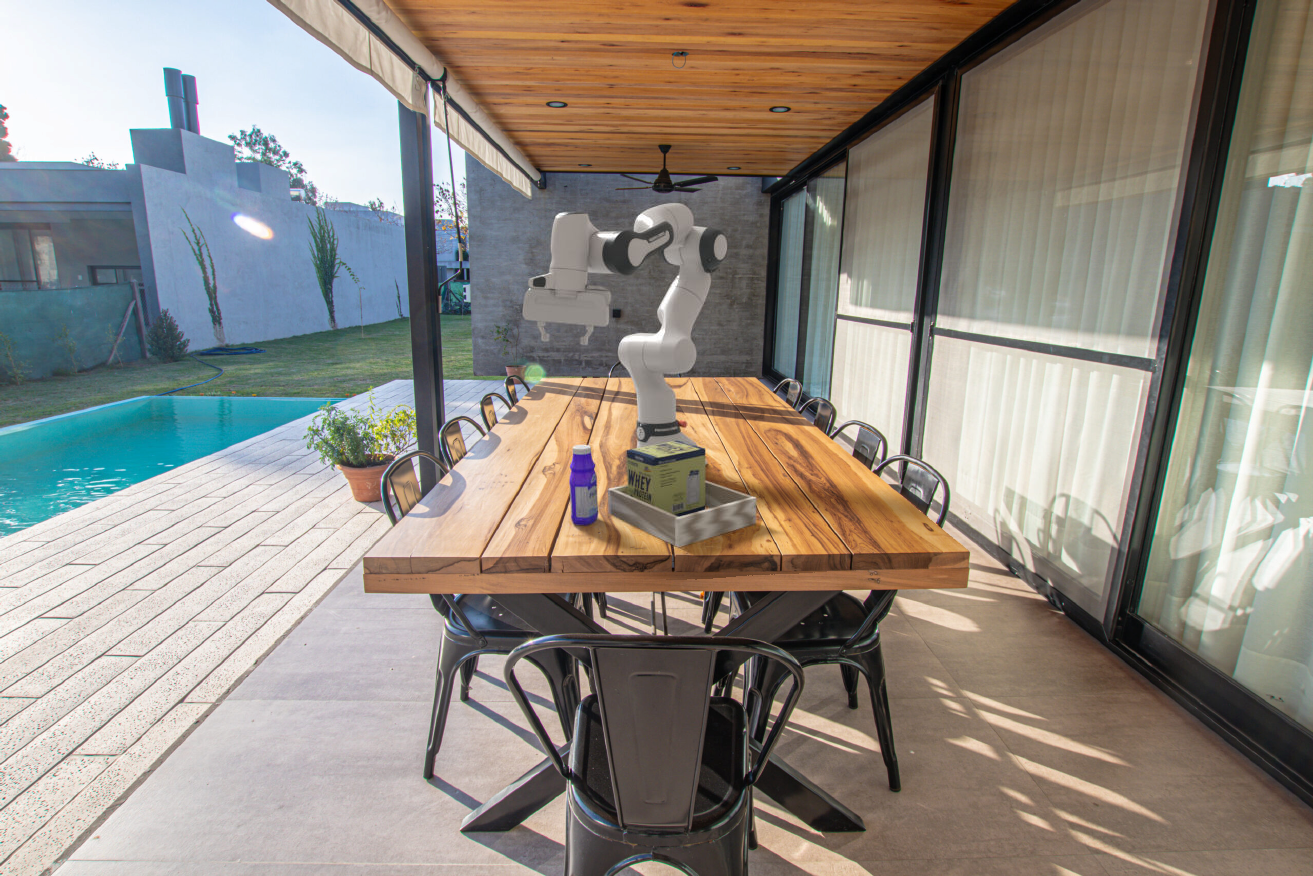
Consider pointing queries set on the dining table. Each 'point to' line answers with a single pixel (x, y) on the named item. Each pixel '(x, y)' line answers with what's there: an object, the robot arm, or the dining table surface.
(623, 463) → the dining table surface
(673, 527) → the crate
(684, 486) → the protein box
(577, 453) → the bottle
